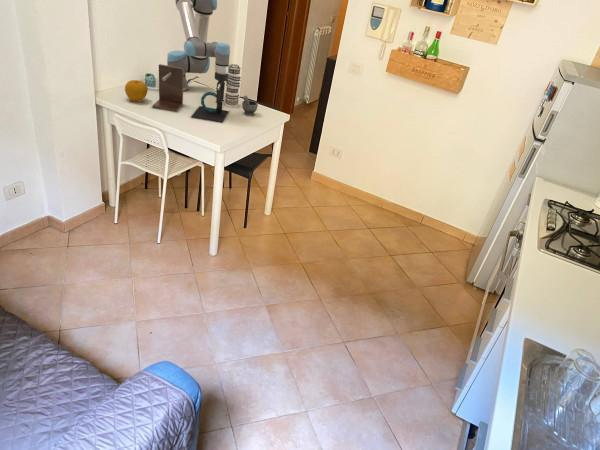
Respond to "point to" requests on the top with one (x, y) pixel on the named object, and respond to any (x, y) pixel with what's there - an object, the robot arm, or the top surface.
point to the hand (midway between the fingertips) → (219, 112)
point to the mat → (209, 115)
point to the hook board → (170, 88)
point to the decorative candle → (232, 86)
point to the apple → (136, 90)
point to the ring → (204, 104)
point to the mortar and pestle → (249, 106)
